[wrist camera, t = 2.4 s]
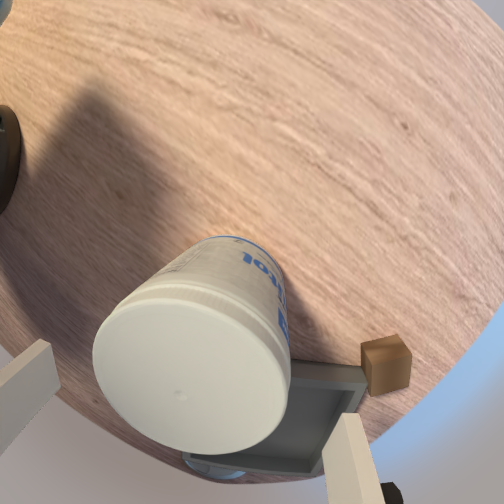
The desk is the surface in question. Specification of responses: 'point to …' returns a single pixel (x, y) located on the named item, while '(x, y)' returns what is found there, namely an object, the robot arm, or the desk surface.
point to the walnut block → (386, 364)
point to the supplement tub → (201, 349)
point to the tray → (299, 422)
